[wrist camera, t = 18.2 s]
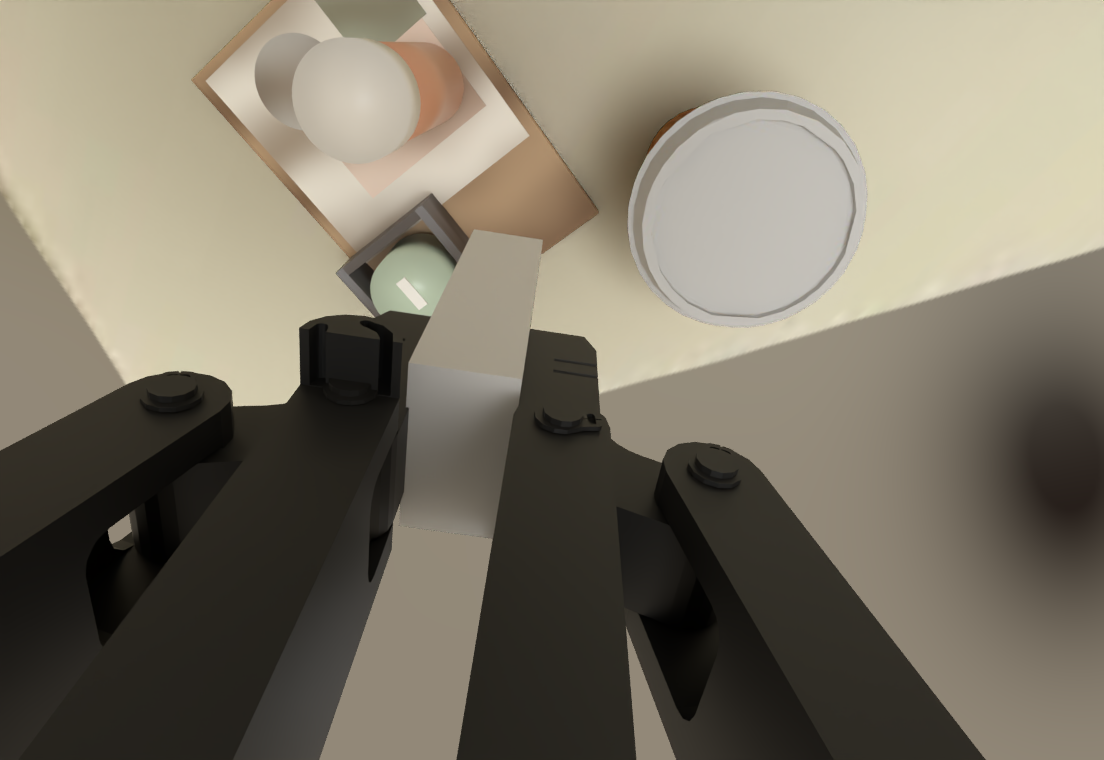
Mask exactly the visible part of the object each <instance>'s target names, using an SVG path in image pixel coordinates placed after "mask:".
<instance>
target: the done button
mask: <svg viewBox="0 0 1104 760" xmlns="http://www.w3.org/2000/svg"><path fill="white" fill-rule="evenodd" d="M456 265H457V262H456V260H455V259H454V258H453V257H452V255H451V254H450V253H449V252H448V251H447V249H446V248H445V247H444V246H443V245H442V243H441V242H440V241H439V240H438V238H437V237H436V236H435V235H431V234H424V233H420V234H413V235H409V236H407V237H405V238H403V239H401V240H400V241H399V242H398V243H396V245H395V246H394V247H393V248H392V249H391V251H390V252H389V253H388V254H387V256H386V257H385V258H384V259H383V261H382V262H381V263H380V264H379V265H378V267H377V268H376V270H375V271H374V273H373V276H372V279H371V284H370V293H371V298H372V301H373V304H374V306H375V308H376V309H377V311H378V313H379V314H380V315H381V314H383V313H385V312H388V311H390V310H391V311H398V312H405V313H411V314H418V315H425V316H432V314H433V312H434V310H435V308H436V306H437V304H438V302H439V300H440V297H441V295H442V293H443V291H444V289H445V287H446V285H447V283H448V281H449V279H450V277H451V275H452V273H453V271H454V269H455V267H456Z"/></svg>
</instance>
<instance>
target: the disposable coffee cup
mask: <svg viewBox="0 0 1104 760" xmlns="http://www.w3.org/2000/svg"><path fill="white" fill-rule="evenodd" d="M866 206H867V184H866V175H865V169H864V167H863V164H862V161H861V158H860V156H859V153H858V150H857V147H856V145H855V143H854V142H853V140H852V139H851V138H850V136H849V135H848V133H847V132H846V131H845V129H844V128H843V126H842V125H841V124H840V123H839V122H838V121H837V120H835V119H834V118H833V117H832V116H831V115H830V114H829V113H828V112H827V111H825V110H824V109H822V108H820V107H818V106H816V105H815V104H813V103H811V102H809V101H807V100H805V99H803V98H801V97H797V96H793V95H788V94H784V93H780V92H776V91H759V92H740V93H736V94H732V95H728V96H725V97H721V98H718V99H715V100H712V101H710V102H707V103H705V104H703V105H702V106H700V107H697V108H692V109H690V110H687V111H685V112H682V113H680V114H678V115H677V116H676V117H674V118H673V119H671V120H670V121H668V122H667V123H666V124H665V125H664V126H663V127H662V128H661V129H660V130H659V132H658V133H657V135H656V136H655V137H654V139H653V141H652V143H651V145H650V147H649V149H648V153H647V156H646V158H645V160H644V162H643V164H642V166H641V168H640V170H639V172H638V174H637V177H636V179H635V182H634V185H633V189H632V194H631V198H630V202H629V206H628V235H629V242H630V249H631V253H632V255H633V258H634V260H635V263H636V265H637V268H638V270H639V273H640V275H641V276H642V278H643V279H644V280H645V282H646V283H647V285H648V286H649V288H650V289H651V291H652V292H653V293H654V294H655V295H657V296H658V297H659V298H660V299H661V300H662V301H663V302H664V303H665V304H666V305H668V306H669V307H671V308H672V309H674V310H675V311H677V312H678V313H680V314H681V315H683V316H686V317H689V318H691V319H694V320H696V321H699V322H702V323H706V324H711V325H715V326H726V327H755V326H762V325H767V324H770V323H774V322H777V321H780V320H783V319H786V318H788V317H790V316H792V315H794V314H796V313H798V312H800V311H802V310H803V309H805V308H806V307H808V306H810V305H811V304H813V303H814V302H816V301H817V300H818V299H819V298H821V297H822V296H823V295H824V294H825V293H826V292H827V291H828V290H830V289H831V287H832V286H833V285H834V284H835V283H836V282H837V280H838V279H839V278H840V277H841V276H842V275H843V273H844V272H845V270H846V268H847V267H848V265H849V263H850V261H851V259H852V257H853V256H854V254H855V252H856V250H857V248H858V245H859V242H860V239H861V236H862V233H863V228H864V223H865V217H866Z"/></svg>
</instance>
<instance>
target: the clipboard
mask: <svg viewBox="0 0 1104 760" xmlns="http://www.w3.org/2000/svg"><path fill="white" fill-rule="evenodd" d="M339 37H346V38H367V39H372V40H375V41H382V42H427V43H432V44H435V45H437V46H440V47H441V48H443V49H445V50H446V51H447V52H448V53H449V54H450V55H451V56H452V57H453V58H454V59H455V61H456V62H457V64H458V66H459V68H460V70H461V73H462V76H463V82H464V93H463V98H462V102H461V104H460V106H459V108H458V110H457V111H456V113H455V114H454V115H453V116H452V117H451V118H450V119H449V120H447V121H445V122H444V123H442V124H440V125H438V126H436V127H434V128H432V129H430V130H428V131H426V132H424V133H422V134H421V135H419V136H417V137H415V138H413V139H411V140H409V141H407V142H406V143H405V144H404V145H403V146H402V147H400V148H399V149H397V150H396V151H394V152H392V153H390V154H388V155H387V156H385V157H383V158H381V159H379V160H376V161H374V162H370V163H364V164H351V163H345V162H342V161H339V160H336V159H334V158H332V157H330V156H328V155H326V154H325V153H323V152H322V151H321V150H319V149H318V148H317V147H316V146H315V145H314V144H313V143H312V142H311V141H310V140H309V138H308V137H307V136H306V135H305V133H304V132H303V130H302V128H301V126H300V124H299V122H298V120H297V117H296V115H295V111H294V107H293V101H292V84H293V78H294V74H295V71H296V69H297V66H298V64H299V63H300V61H301V59H302V58H303V57H304V55H305V54H306V53H307V52H308V51H309V50H310V49H311V48H312V47H314V46H315V45H317V44H318V43H321V42H323V41H325V40H328V39H332V38H339ZM192 81H193V83H194V84H195V85H196V86H197V87H198V88H199V89H200V90H201V92H202V93H203V94H204V95H205V96H206V97H207V98H208V99H209V100H210V102H211V103H212V104H213V105H214V106H215V107H216V108H217V109H218V111H219V112H220V113H221V114H222V115H223V116H224V117H225V118H226V120H227V121H228V122H229V123H230V124H231V125H232V126H233V127H234V129H235V130H236V131H237V132H238V133H239V134H240V135H241V136H242V138H243V139H244V140H245V141H246V142H247V143H248V144H249V145H250V147H251V148H252V149H253V150H254V151H255V152H256V153H257V154H258V156H259V157H260V158H261V159H262V160H263V161H264V162H265V163H266V165H267V166H268V167H269V168H270V169H271V170H272V171H273V172H274V174H275V175H276V176H277V177H278V178H279V179H280V180H281V181H282V183H283V184H284V185H285V186H286V187H287V188H288V189H289V190H290V191H291V193H292V194H293V195H294V196H295V197H296V198H297V199H298V200H299V202H300V203H301V204H302V205H303V206H304V207H305V208H306V209H307V211H308V212H309V213H310V214H311V215H312V216H313V217H314V218H315V220H316V221H317V222H318V223H319V224H320V225H321V226H322V227H323V229H324V230H325V231H326V232H327V233H328V234H329V235H330V236H331V238H332V239H333V240H334V241H335V242H336V243H337V244H338V245H339V247H340V248H341V249H342V250H343V251H344V252H345V253H346V254H347V256H348V257H349V258H350V259H349V260H348V261H347V262H346V263H345V264H344V265H343V266H342V267H341V268H340V269H339V270H338V271H337V272H336V274H337V276H338V277H339V278H340V279H341V280H342V281H343V282H344V283H345V284H346V285H347V287H348V288H349V289H350V290H351V291H352V292H353V293H354V294H355V295H356V296H357V298H358V299H359V300H360V301H361V302H362V303H363V304H364V305H365V306H366V307H367V309H368V310H369V311H370V312H371V313H372V314H373V315H374V316H375V317H377V316H379V315H380V314H379V313H378V311H377V309H376V308H375V306H374V304H373V301H372V298H371V293H370V284H371V279H372V276H373V273H374V271H375V270H376V268H377V267H378V265H379V264H380V263H381V262H382V261H383V259H384V258H385V257H386V256H387V254H388V253H389V252H390V251H391V249H392V248H393V247H394V246H395V245H396V243H398V242H399V241H400V240H401V239H403V238H405V237H407V236H409V235H413V234H420V233H424V234H431V235H435V236H436V237H437V238H438V240H439V241H440V242H441V243H442V245H443V246H444V247H445V248H446V249H447V251H448V252H449V253H450V254H451V255H452V257H453V258H454V259H455V260H456V262H457V263H458V261H459V259H460V257H461V255H462V253H463V251H464V249H465V247H466V244H467V242H468V240H469V238H470V236H471V234H472V232H473V230H474V229H476V230H482V231H489V232H495V233H502V234H508V235H515V236H521V237H528V238H534V239H541V240H543V244H542V251H541V254H543V253H544V252H545V251H547V250H548V249H550V248H551V247H552V246H554V245H555V244H557V243H558V242H559V241H561V240H562V239H564V238H565V237H566V236H568V235H569V234H570V233H572V232H573V231H575V230H576V229H577V228H579V227H580V226H582V225H583V224H584V223H586V222H587V221H589V220H590V219H591V218H593V217H594V216H596V215H597V214H598V213H599V211H598V209H597V208H596V206H595V205H594V204H593V202H592V201H591V199H590V198H589V196H588V195H587V194H586V192H585V191H584V189H583V188H582V187H581V185H580V184H579V182H578V181H577V180H576V178H575V177H574V175H573V174H572V172H571V171H570V170H569V168H568V167H567V165H566V164H565V163H564V161H563V160H562V158H561V157H560V155H559V154H558V153H557V151H556V150H555V148H554V147H553V146H552V144H551V143H550V141H549V140H548V139H547V137H546V136H545V134H544V133H543V131H542V130H541V129H540V127H539V126H538V124H537V123H536V122H535V120H534V119H533V117H532V116H531V115H530V113H529V112H528V110H527V109H526V107H525V106H524V105H523V103H522V102H521V100H520V99H519V98H518V96H517V95H516V93H515V92H514V90H513V89H512V88H511V86H510V85H509V83H508V82H507V81H506V79H505V78H504V76H503V75H502V74H501V72H500V71H499V69H498V68H497V66H496V65H495V64H494V62H493V61H492V59H491V58H490V57H489V55H488V54H487V52H486V51H485V50H484V48H483V47H482V45H481V44H480V42H479V41H478V40H477V38H476V37H475V35H474V34H473V33H472V31H471V30H470V28H469V27H468V26H467V24H466V23H465V21H464V20H463V18H462V17H461V16H460V14H459V13H458V11H457V10H456V9H455V7H454V6H453V4H452V3H451V1H450V0H271V1H270V2H269V3H268V4H267V5H266V6H265V7H264V8H263V9H262V10H261V11H260V12H259V13H258V14H257V15H256V16H255V17H254V18H253V19H252V20H251V21H250V22H249V23H248V24H247V25H246V26H245V27H244V28H243V29H242V30H241V31H240V32H239V33H238V34H237V35H236V36H235V37H234V38H233V39H232V40H231V41H230V42H229V43H228V44H227V45H226V46H225V47H224V48H223V49H222V50H221V51H220V52H219V53H218V54H217V55H216V56H215V57H214V58H213V59H212V60H211V61H210V62H209V63H208V64H207V65H206V66H205V67H204V68H203V69H202V70H201V71H200V72H199V73H198V74H197V75H196V76H195V77H194V78H193V79H192Z"/></svg>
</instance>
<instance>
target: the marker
mask: <svg viewBox="0 0 1104 760" xmlns="http://www.w3.org/2000/svg"><path fill="white" fill-rule="evenodd" d="M463 93H464V82H463V76H462V73H461V70H460V68H459V66H458V64H457V62H456V61H455V59H454V58H453V57H452V56H451V55H450V54H449V53H448V52H447V51H446V50H445V49H443V48H441V47H440V46H437V45H435V44H432V43H427V42H382V41H375V40H372V39H367V38H346V37H339V38H332V39H328V40H325V41H323V42H321V43H318V44H317V45H315V46H314V47H312V48H311V49H310V50H309V51H308V52H307V53H306V54H305V55H304V57H303V58H302V59H301V61H300V63H299V64H298V66H297V69H296V71H295V74H294V78H293V84H292V101H293V107H294V111H295V115H296V117H297V120H298V122H299V124H300V126H301V128H302V130H303V132H304V133H305V135H306V136H307V137H308V138H309V140H310V141H311V142H312V143H313V144H314V145H315V146H316V147H317V148H318V149H319V150H321V151H322V152H323V153H325V154H326V155H328V156H330V157H332V158H334V159H336V160H339V161H342V162H345V163H351V164H364V163H370V162H374V161H376V160H379V159H381V158H383V157H385V156H387V155H388V154H390V153H392V152H394V151H396V150H397V149H399V148H400V147H402V146H403V145H404V144H405V143H406V142H407V141H409V140H411V139H413V138H415V137H417V136H419V135H421V134H422V133H424V132H426V131H428V130H430V129H432V128H434V127H436V126H438V125H440V124H442V123H444V122H445V121H447V120H449V119H450V118H451V117H452V116H453V115H454V114H455V113H456V111H457V110H458V108H459V106H460V104H461V102H462V98H463Z"/></svg>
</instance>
